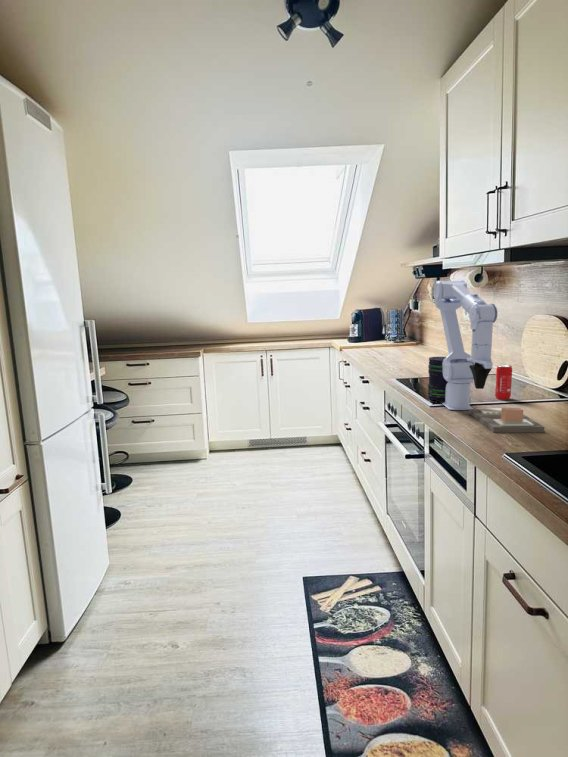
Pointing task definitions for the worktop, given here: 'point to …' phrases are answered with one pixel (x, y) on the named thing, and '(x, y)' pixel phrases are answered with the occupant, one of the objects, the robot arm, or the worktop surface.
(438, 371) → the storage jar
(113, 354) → the worktop surface
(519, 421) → the stub
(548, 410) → the worktop surface
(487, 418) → the ticket board
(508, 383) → the beverage can
